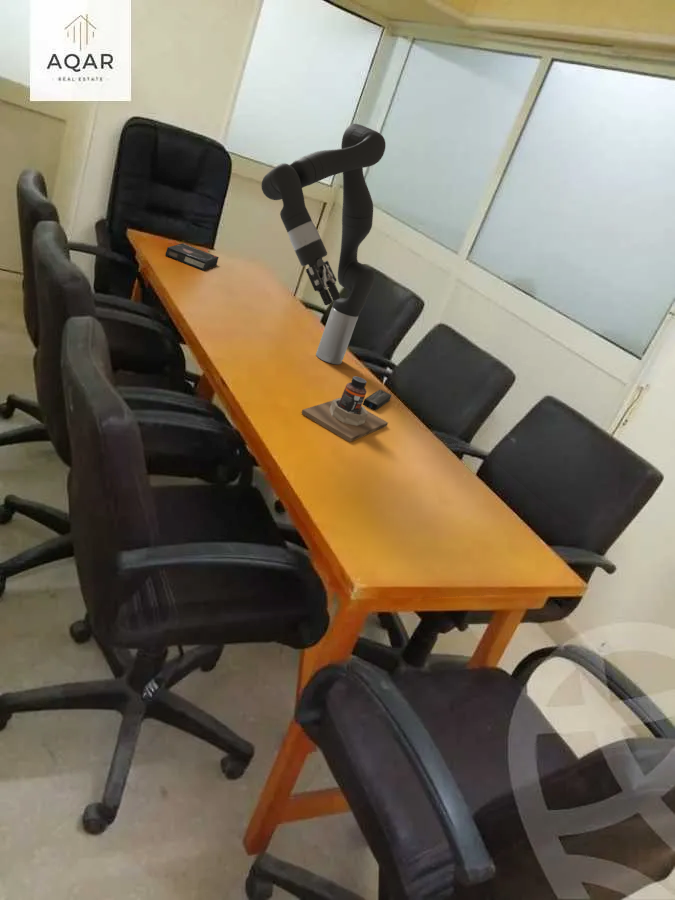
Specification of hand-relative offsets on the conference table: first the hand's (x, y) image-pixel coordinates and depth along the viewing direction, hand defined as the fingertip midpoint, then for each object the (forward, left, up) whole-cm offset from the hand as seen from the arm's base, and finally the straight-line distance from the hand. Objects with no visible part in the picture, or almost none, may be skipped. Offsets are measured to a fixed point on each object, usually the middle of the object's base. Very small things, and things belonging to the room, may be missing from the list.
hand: (333, 301), depth 181 cm
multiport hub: (-26, +12, -29) cm, 41 cm away
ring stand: (-2, +15, -29) cm, 32 cm away
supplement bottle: (-2, +14, -28) cm, 31 cm away
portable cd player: (-66, -103, -29) cm, 126 cm away
